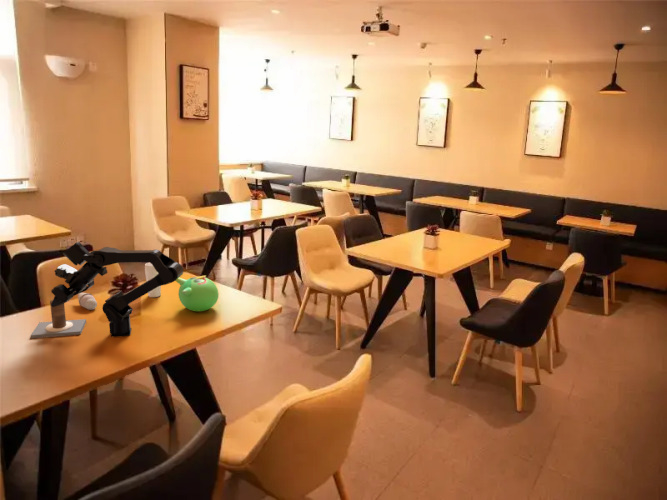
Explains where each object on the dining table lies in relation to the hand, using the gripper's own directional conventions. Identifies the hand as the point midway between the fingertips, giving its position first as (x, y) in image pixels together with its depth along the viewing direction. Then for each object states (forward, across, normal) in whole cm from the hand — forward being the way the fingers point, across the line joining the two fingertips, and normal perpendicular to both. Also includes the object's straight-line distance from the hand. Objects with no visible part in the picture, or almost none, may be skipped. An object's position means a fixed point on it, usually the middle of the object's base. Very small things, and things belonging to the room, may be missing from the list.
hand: (59, 301), depth 180 cm
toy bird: (-22, -27, +38) cm, 52 cm away
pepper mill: (+8, 0, +6) cm, 10 cm away
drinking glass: (-4, -41, +21) cm, 46 cm away
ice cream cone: (+11, -24, +5) cm, 27 cm away
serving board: (+9, 0, +7) cm, 11 cm away
